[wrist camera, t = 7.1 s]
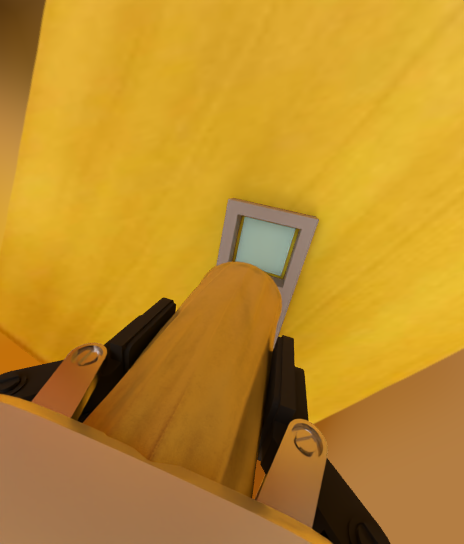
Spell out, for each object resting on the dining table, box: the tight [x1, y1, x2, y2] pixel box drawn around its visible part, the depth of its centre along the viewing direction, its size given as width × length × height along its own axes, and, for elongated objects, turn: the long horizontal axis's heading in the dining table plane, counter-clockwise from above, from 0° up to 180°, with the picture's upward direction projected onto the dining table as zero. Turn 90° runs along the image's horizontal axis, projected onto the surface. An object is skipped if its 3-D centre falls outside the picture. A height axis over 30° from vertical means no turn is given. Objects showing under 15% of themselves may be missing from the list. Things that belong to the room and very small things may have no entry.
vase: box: [83, 262, 282, 498], centre depth 9 cm, size 6×6×14 cm
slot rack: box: [217, 198, 319, 349], centre depth 31 cm, size 20×11×3 cm, turn 168°
